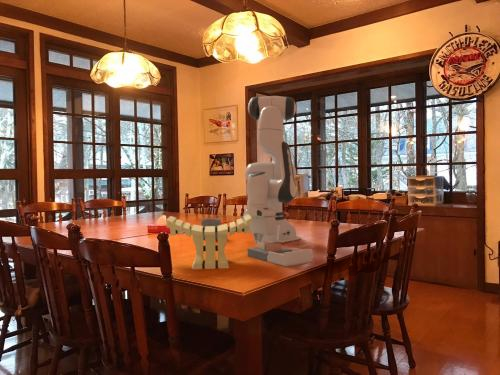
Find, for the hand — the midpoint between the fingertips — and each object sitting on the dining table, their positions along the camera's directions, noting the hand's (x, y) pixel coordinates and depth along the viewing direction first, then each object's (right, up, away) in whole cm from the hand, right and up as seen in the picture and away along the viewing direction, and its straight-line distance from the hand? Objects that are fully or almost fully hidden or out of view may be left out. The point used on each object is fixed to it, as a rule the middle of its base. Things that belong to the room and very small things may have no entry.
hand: (258, 243), depth 171 cm
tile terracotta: (+6, -1, -9) cm, 11 cm away
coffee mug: (-23, -3, +42) cm, 48 cm away
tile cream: (+3, -1, -4) cm, 5 cm away
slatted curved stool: (-18, -5, -18) cm, 26 cm away
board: (+5, -4, -7) cm, 9 cm away
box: (+12, -5, -17) cm, 21 cm away
